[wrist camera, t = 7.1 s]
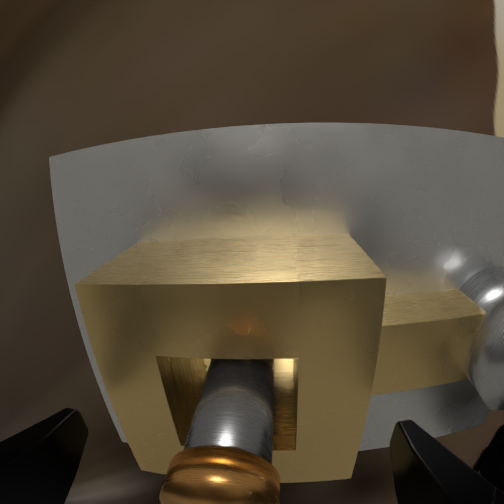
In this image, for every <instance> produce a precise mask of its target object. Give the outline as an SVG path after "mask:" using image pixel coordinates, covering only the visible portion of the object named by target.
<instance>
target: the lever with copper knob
mask: <svg viewBox="0 0 504 504" xmlns="http://www.w3.org/2000/svg"><path fill="white" fill-rule="evenodd" d="M274 378H275V359H211V362H210V365H209V368H208V372H207V375H206V378H205V381H204V384H203V388H202V391H201V394H200V397H199V400H198V404H197V407H196V410H195V413H194V416H193V420H192V423H191V426H190V429H189V433H188V436H187V439H186V442H185V445H184V449H183V450H182V451H181V452H179V453H177V454H176V455H175V456H174V457H173V458H172V459H171V462H170V464H169V467H168V470H167V473H166V476H165V479H164V482H163V485H162V488H161V491H160V495H159V499H160V502H161V504H280V475H279V472H278V471H277V469H276V468H275V467H274V466H273V465H272V453H273V421H274Z"/></svg>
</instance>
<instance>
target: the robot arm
mask: <svg viewBox="0 0 504 504" xmlns="http://www.w3.org/2000/svg"><path fill="white" fill-rule="evenodd" d="M87 437H88V428H87V426H86V424H85V422H84V420H83V418H82V415H81V413H80V412H79V411H78V410H75V409H71V408H65V409H63V410H61V411H60V412H58V413H56V414H54V415H52V416H50V417H48V418H46V419H44V420H43V421H41V422H39V423H37V424H35V425H33V426H31V427H29V428H27V429H25V430H23V431H21V432H19V433H17V434H15V435H13V436H11V437H9V438H8V439H6V440H4V441H1V442H0V504H64V503H65V501H66V498H67V496H68V493H69V491H70V488H71V486H72V483H73V481H74V478H75V476H76V473H77V470H78V467H79V464H80V460H81V457H82V453H83V450H84V447H85V444H86V440H87ZM390 454H391V461H392V468H393V476H394V484H395V491H396V496H397V501H398V504H504V426H503V427H502V428H501V429H500V430H499V432H498V434H497V435H496V437H495V439H494V441H493V443H492V444H491V446H490V448H489V449H488V451H487V453H486V454H485V456H484V458H483V459H482V461H481V463H480V464H479V466H478V467H477V469H476V470H473V469H472V468H471V467H470V466H468V465H467V464H466V463H464V462H463V461H462V460H461V459H459V458H458V457H457V456H456V455H454V454H453V453H452V452H451V451H449V450H448V449H447V448H446V447H445V446H443V445H442V444H441V443H440V442H438V441H437V440H436V439H435V438H433V437H432V436H431V435H430V434H428V433H427V432H426V431H425V430H424V429H422V428H421V427H420V426H419V425H417V424H416V423H415V422H414V421H412V420H403V421H398V422H397V423H396V424H395V427H394V430H393V433H392V436H391V439H390Z"/></svg>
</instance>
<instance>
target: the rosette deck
mask: <svg viewBox="0 0 504 504" xmlns="http://www.w3.org/2000/svg"><path fill="white" fill-rule="evenodd" d="M49 161H50V174H51V184H52V194H53V202H54V210H55V217H56V224H57V230H58V236H59V242H60V247H61V253H62V258H63V263H64V268H65V272H66V277H67V281H68V286H69V290H70V294H71V298H72V302H73V306H74V310H75V313H76V317H77V321H78V324H79V328H80V331H81V335H82V338H83V341H84V344H85V347H86V351H87V354H88V357H89V360H90V363H91V366H92V368H93V371H94V374H95V377H96V380H97V382H98V385H99V388H100V390H101V393H102V395H103V398H104V401H105V403H106V406H107V408H108V410H109V413H110V415H111V418H112V420H113V422H114V424H115V427H116V429H117V431H118V433H119V436H120V438H121V440H122V442H126V443H128V444H129V446H130V448H131V450H132V452H133V454H134V456H135V459H136V461H137V463H138V465H139V467H140V469H141V470H143V471H148V472H154V473H160V474H166V473H167V470H168V467H169V464H170V462H171V459H172V458H173V457H174V456H175V455H176V454H177V453H179V452H181V451H182V450H183V449H184V445H185V442H186V439H187V436H188V433H189V429H190V426H191V423H192V420H193V416H194V413H195V410H196V407H197V404H198V400H199V397H200V394H201V391H202V388H203V384H204V381H205V378H206V375H207V372H208V368H209V365H210V362H211V359H275V378H274V421H273V453H272V465H273V466H274V467H275V468H276V469H277V471H278V472H279V475H280V483H296V482H316V481H329V480H340V479H349V478H351V476H352V472H353V469H354V465H355V462H356V458H357V454H358V451H363V450H370V449H377V448H384V447H390V439H391V436H392V433H393V430H394V427H395V424H396V423H397V422H398V421H403V420H412V421H414V422H415V423H416V424H417V425H419V426H420V427H421V428H422V429H424V430H425V431H426V432H427V433H428V434H430V435H431V436H432V437H433V438H435V437H439V436H443V435H447V434H451V433H455V432H458V431H462V430H465V429H469V428H472V427H476V426H479V425H482V424H483V423H484V421H485V419H486V417H487V415H488V413H489V411H490V409H493V410H504V138H502V137H496V136H490V135H484V134H478V133H471V132H464V131H456V130H447V129H438V128H429V127H417V126H405V125H389V124H368V123H286V124H264V125H248V126H235V127H223V128H212V129H203V130H194V131H185V132H178V133H170V134H163V135H156V136H150V137H143V138H137V139H131V140H126V141H120V142H115V143H110V144H105V145H100V146H95V147H90V148H85V149H81V150H76V151H72V152H68V153H64V154H60V155H56V156H52V157H49Z"/></svg>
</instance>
